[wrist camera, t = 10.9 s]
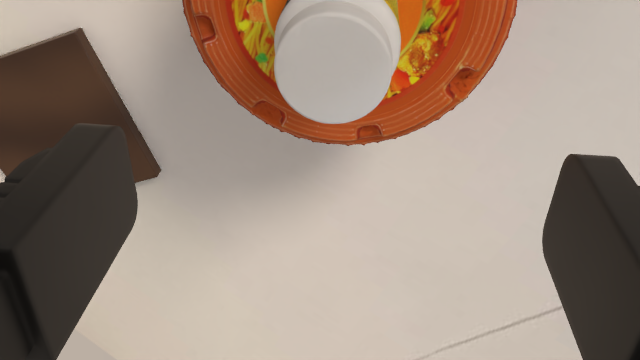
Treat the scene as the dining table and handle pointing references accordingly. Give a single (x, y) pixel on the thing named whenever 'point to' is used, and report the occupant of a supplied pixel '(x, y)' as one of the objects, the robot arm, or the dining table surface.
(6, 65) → the plate
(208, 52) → the food container
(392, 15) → the supplement bottle
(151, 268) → the dining table surface
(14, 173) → the robot arm
